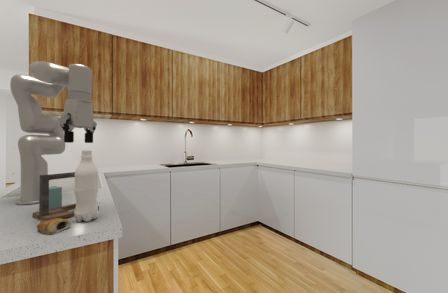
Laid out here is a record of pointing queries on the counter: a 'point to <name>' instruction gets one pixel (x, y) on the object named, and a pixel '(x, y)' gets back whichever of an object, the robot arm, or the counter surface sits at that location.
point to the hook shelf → (57, 213)
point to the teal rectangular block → (55, 197)
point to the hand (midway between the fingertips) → (79, 142)
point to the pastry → (53, 225)
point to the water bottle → (86, 188)
